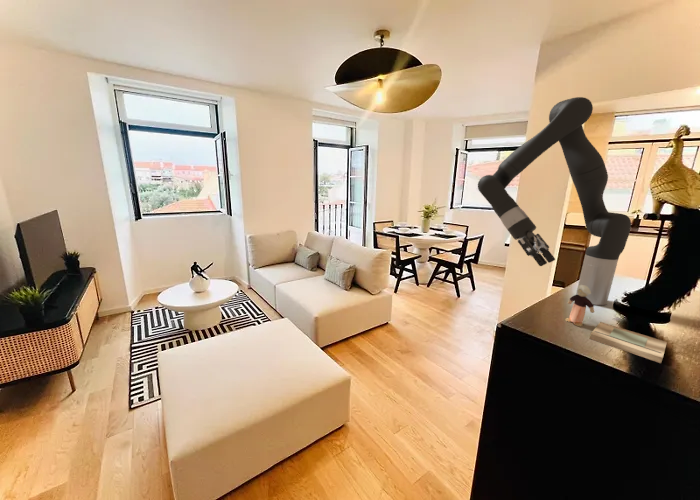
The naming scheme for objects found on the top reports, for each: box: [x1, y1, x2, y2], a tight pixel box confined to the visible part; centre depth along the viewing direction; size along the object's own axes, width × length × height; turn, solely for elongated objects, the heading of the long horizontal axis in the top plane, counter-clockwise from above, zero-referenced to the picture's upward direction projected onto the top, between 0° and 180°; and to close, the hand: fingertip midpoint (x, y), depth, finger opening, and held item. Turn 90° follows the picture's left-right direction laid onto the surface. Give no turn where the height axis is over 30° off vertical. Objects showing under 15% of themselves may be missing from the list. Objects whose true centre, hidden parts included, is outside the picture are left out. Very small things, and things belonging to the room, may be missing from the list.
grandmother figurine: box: [564, 285, 595, 327], centre depth 88 cm, size 8×4×13 cm, turn 27°
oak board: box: [589, 321, 668, 364], centre depth 79 cm, size 12×14×2 cm
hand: (548, 263), depth 93 cm, fingers open, 8 cm apart
